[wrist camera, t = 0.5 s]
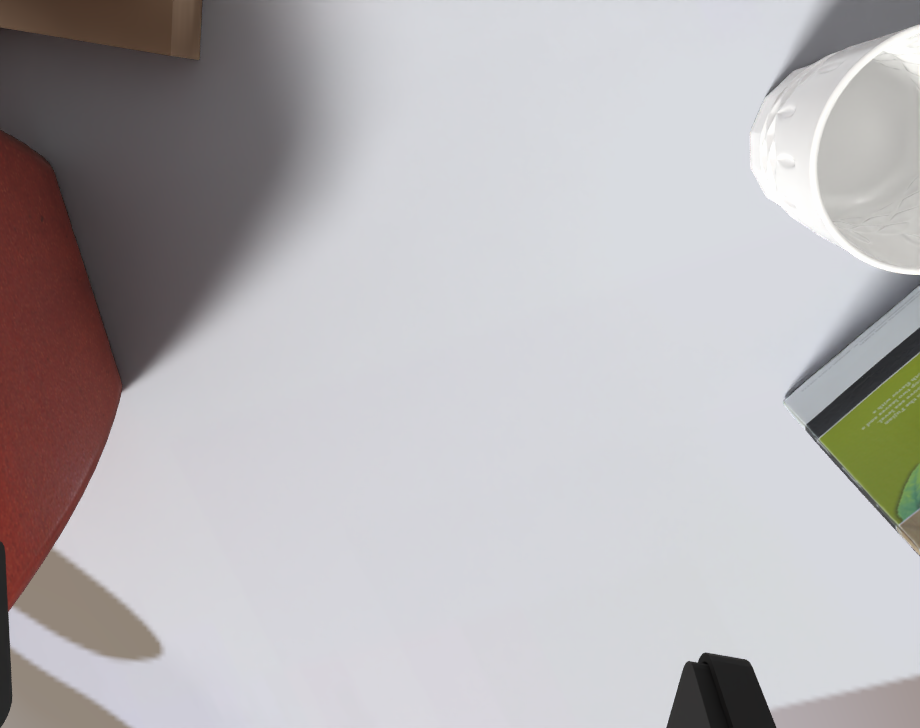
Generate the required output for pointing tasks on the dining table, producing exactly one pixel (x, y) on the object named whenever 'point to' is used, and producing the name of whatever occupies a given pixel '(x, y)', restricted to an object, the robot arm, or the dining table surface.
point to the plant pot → (45, 366)
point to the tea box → (873, 414)
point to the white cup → (849, 149)
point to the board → (113, 23)
